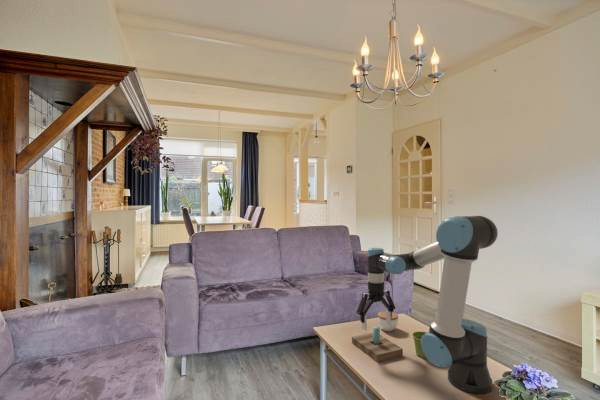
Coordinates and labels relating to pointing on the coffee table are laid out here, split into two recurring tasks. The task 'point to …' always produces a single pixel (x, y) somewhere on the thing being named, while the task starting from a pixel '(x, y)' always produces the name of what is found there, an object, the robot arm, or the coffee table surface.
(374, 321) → the coffee table surface
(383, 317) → the lidded jar
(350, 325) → the coffee table surface
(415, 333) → the plant pot
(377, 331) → the peg
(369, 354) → the hole block
